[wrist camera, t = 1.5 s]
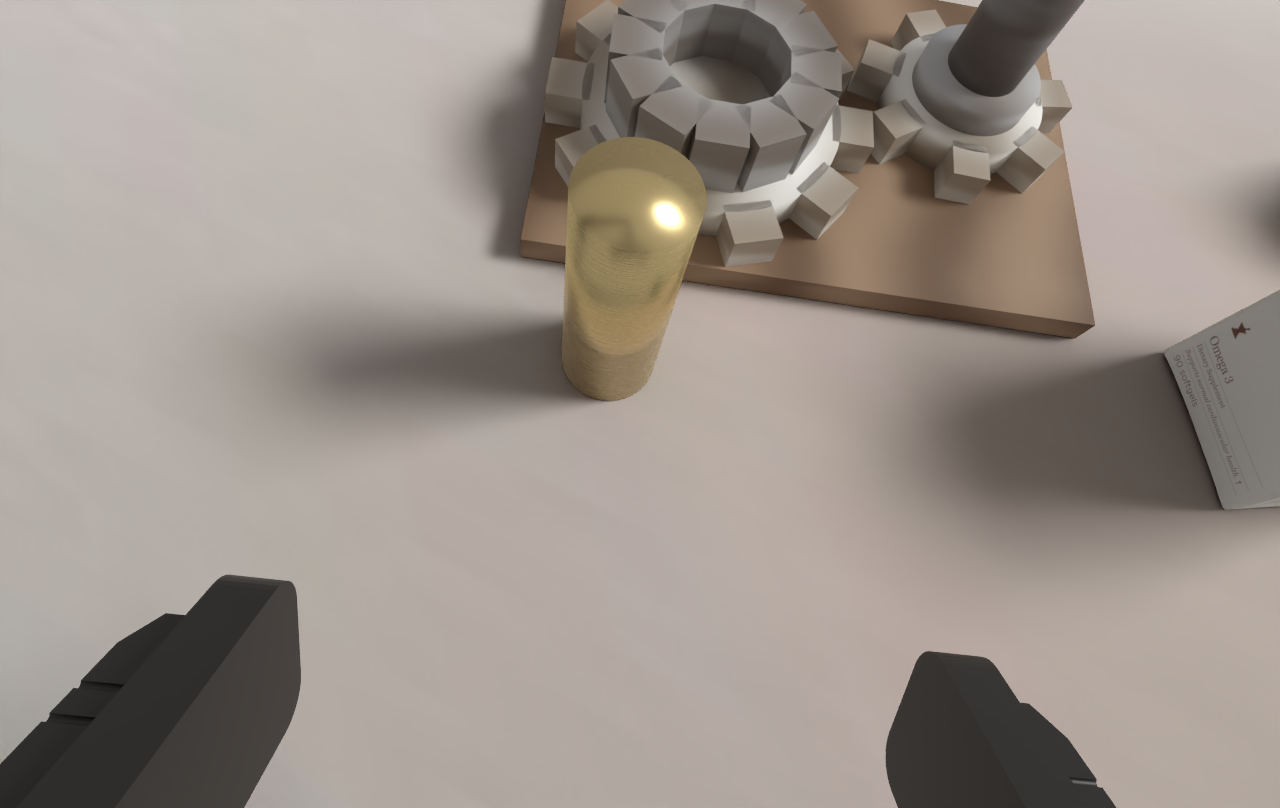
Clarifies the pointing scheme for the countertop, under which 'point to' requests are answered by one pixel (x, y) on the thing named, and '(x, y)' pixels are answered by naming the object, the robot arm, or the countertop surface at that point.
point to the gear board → (888, 219)
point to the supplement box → (1236, 401)
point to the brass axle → (625, 260)
